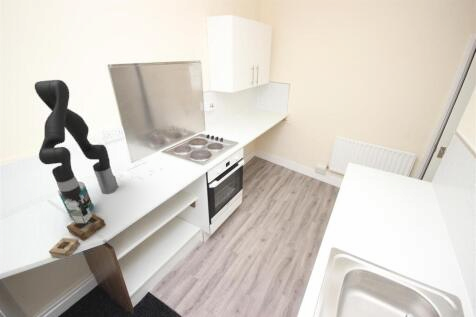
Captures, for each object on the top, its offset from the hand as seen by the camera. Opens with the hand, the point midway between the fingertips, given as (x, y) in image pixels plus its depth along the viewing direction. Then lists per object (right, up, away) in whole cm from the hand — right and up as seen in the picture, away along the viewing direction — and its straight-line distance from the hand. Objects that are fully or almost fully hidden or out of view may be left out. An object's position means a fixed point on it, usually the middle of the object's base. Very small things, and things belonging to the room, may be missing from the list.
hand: (80, 212), depth 110 cm
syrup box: (0, -5, +2) cm, 5 cm away
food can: (-11, -4, +17) cm, 20 cm away
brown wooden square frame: (0, -10, +6) cm, 12 cm away
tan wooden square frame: (-2, -17, -6) cm, 18 cm away
